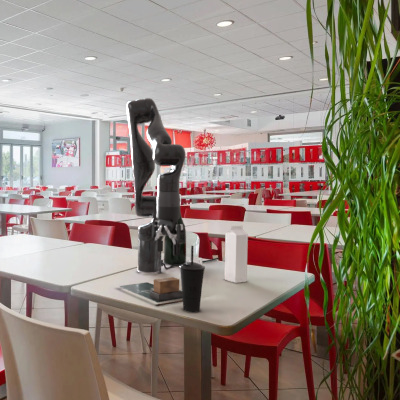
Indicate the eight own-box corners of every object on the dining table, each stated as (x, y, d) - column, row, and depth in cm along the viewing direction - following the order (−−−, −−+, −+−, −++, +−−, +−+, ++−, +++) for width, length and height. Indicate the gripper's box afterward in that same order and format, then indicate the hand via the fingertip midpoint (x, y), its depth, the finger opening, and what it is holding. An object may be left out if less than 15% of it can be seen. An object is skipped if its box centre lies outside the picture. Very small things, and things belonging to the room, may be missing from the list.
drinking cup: (175, 306, 133) (176, 244, 132) (198, 306, 134) (199, 243, 133) (183, 314, 126) (184, 247, 125) (208, 313, 126) (209, 247, 125)
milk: (246, 281, 166) (248, 226, 165) (235, 283, 164) (236, 227, 163) (235, 278, 172) (237, 224, 171) (223, 279, 169) (225, 225, 168)
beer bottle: (159, 263, 202) (160, 194, 201) (172, 260, 209) (172, 194, 208) (177, 266, 195) (178, 195, 193) (190, 263, 202) (191, 194, 200)
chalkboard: (147, 284, 161) (147, 281, 161) (190, 300, 140) (190, 297, 140) (116, 288, 155) (116, 285, 155) (157, 306, 134) (157, 303, 134)
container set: (190, 268, 190) (190, 256, 189) (202, 269, 188) (202, 257, 187) (181, 278, 172) (181, 264, 171) (194, 279, 169) (194, 266, 169)
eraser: (173, 293, 145) (173, 276, 145) (182, 297, 140) (183, 279, 140) (149, 297, 140) (149, 279, 140) (158, 301, 136) (159, 282, 136)
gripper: (191, 205, 134) (191, 256, 135) (163, 203, 147) (163, 249, 148) (173, 206, 131) (172, 258, 132) (146, 204, 143) (145, 251, 144)
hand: (167, 253), depth 140 cm, fingers open, 8 cm apart
